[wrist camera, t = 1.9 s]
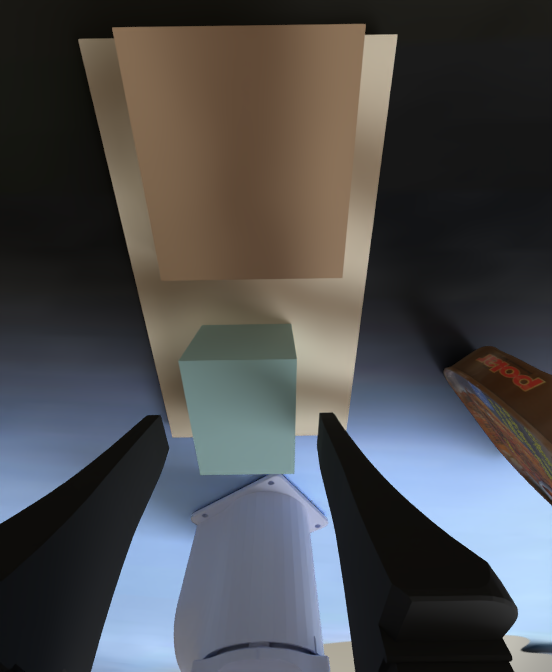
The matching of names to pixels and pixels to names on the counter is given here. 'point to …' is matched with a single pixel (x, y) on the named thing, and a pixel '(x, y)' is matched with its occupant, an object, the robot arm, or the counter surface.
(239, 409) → the teal brick
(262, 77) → the walnut block
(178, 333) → the birch board
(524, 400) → the tin
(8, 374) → the counter surface
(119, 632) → the counter surface
